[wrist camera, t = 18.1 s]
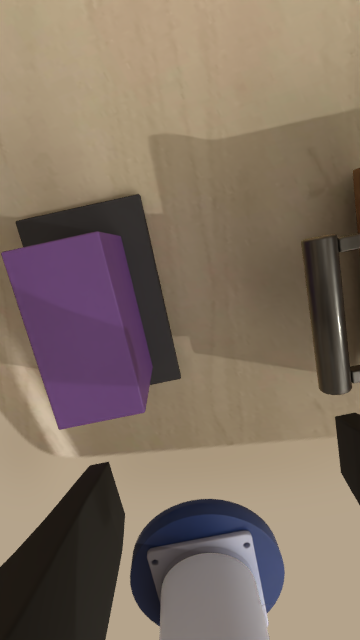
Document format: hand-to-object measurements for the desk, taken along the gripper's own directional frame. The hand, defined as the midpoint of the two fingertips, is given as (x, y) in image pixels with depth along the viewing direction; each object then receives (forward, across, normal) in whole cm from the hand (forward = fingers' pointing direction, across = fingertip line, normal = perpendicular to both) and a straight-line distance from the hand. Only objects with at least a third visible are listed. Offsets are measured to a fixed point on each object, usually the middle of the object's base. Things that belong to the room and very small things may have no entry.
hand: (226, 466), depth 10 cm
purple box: (+10, +5, -4) cm, 12 cm away
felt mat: (+10, +5, -4) cm, 12 cm away
